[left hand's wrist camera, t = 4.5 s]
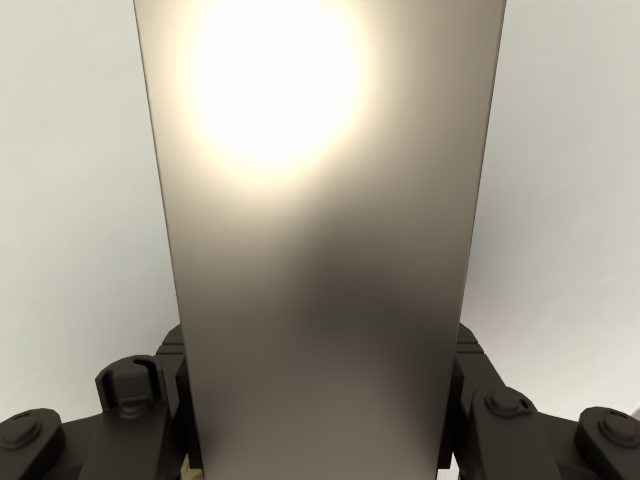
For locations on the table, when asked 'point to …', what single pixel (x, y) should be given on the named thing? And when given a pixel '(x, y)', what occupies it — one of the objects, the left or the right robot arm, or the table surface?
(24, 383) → the table surface
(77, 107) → the table surface
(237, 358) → the bar
